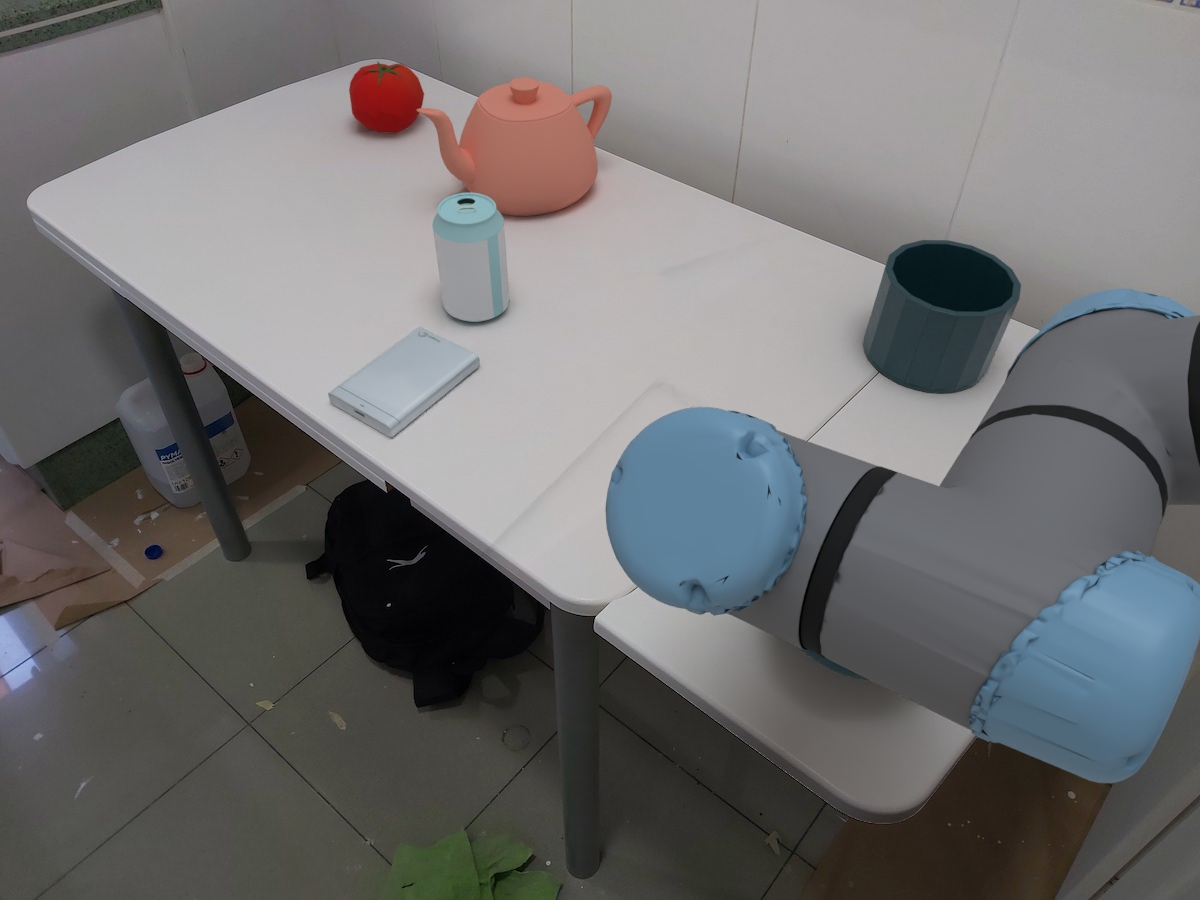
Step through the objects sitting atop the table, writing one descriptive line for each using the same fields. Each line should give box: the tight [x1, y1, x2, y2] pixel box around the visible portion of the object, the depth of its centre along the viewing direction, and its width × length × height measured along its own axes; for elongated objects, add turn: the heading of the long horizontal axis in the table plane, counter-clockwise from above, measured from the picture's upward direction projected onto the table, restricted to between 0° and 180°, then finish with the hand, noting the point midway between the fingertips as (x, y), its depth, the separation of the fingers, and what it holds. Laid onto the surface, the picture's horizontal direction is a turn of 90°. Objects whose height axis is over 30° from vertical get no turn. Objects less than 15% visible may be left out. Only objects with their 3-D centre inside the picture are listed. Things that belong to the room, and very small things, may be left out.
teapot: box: [417, 76, 613, 217], centre depth 107 cm, size 25×17×13 cm
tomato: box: [348, 60, 425, 134], centre depth 120 cm, size 9×10×8 cm
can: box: [432, 192, 510, 323], centre depth 91 cm, size 7×7×12 cm
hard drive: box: [327, 326, 481, 438], centre depth 85 cm, size 2×8×12 cm
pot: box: [862, 239, 1022, 394], centre depth 87 cm, size 12×12×10 cm
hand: (898, 547), depth 64 cm, fingers closed on lid, 3 cm apart
